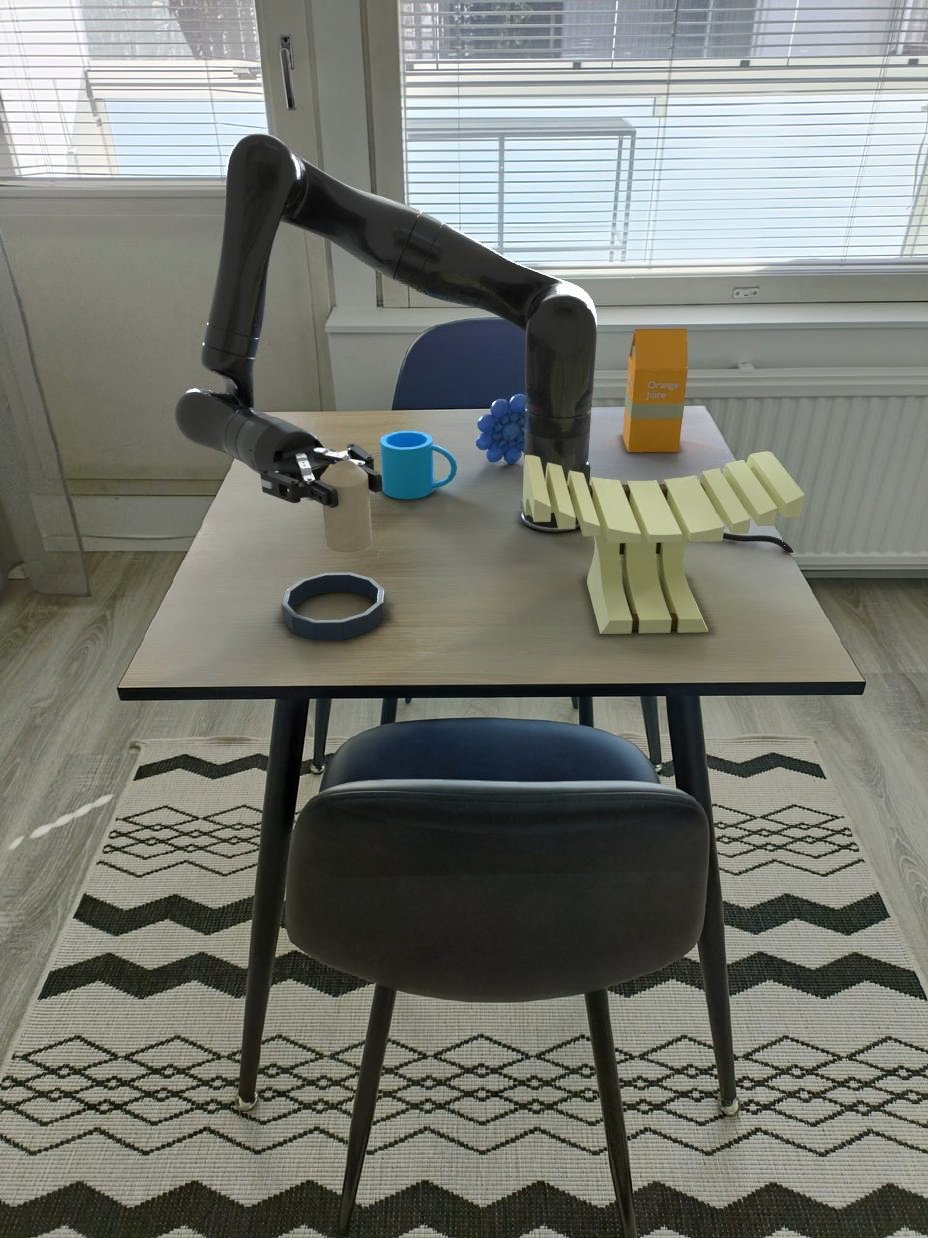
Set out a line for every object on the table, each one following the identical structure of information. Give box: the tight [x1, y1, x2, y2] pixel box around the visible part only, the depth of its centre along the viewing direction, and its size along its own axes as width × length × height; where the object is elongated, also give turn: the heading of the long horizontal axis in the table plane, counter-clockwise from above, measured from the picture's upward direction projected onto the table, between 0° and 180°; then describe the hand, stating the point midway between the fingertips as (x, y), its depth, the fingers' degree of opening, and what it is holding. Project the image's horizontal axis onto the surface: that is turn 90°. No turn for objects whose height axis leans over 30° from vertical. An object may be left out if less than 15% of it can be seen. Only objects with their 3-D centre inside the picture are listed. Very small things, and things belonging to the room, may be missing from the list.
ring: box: [280, 572, 386, 641], centre depth 119 cm, size 12×12×2 cm
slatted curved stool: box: [522, 451, 806, 635], centre depth 118 cm, size 30×16×18 cm, turn 91°
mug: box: [379, 430, 458, 500], centre depth 150 cm, size 12×8×8 cm
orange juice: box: [622, 328, 689, 453], centre depth 163 cm, size 8×9×20 cm
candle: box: [320, 461, 373, 553], centre depth 113 cm, size 6×6×10 cm
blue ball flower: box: [475, 393, 525, 465], centre depth 159 cm, size 12×7×12 cm, turn 90°
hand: (357, 491), depth 110 cm, fingers closed on candle, 5 cm apart
